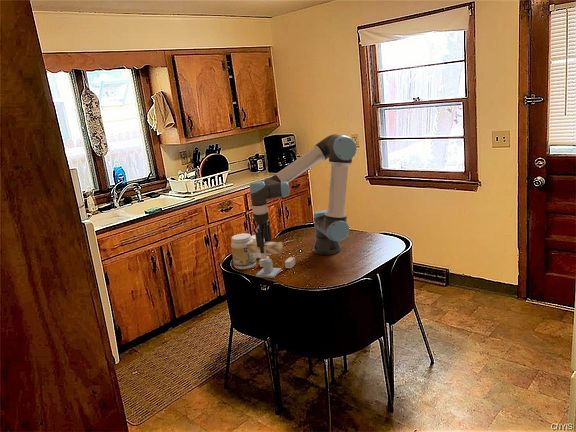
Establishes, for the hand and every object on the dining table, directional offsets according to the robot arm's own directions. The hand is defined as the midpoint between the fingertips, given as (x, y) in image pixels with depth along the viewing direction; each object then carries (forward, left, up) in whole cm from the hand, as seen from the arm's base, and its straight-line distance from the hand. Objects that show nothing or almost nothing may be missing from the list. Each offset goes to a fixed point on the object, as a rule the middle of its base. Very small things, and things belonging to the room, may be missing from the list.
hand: (266, 256), depth 235 cm
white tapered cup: (+16, -22, -9) cm, 29 cm away
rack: (0, -11, -9) cm, 14 cm away
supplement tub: (+18, -8, -9) cm, 22 cm away
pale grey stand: (0, 0, -9) cm, 9 cm away
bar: (0, 0, +3) cm, 3 cm away
